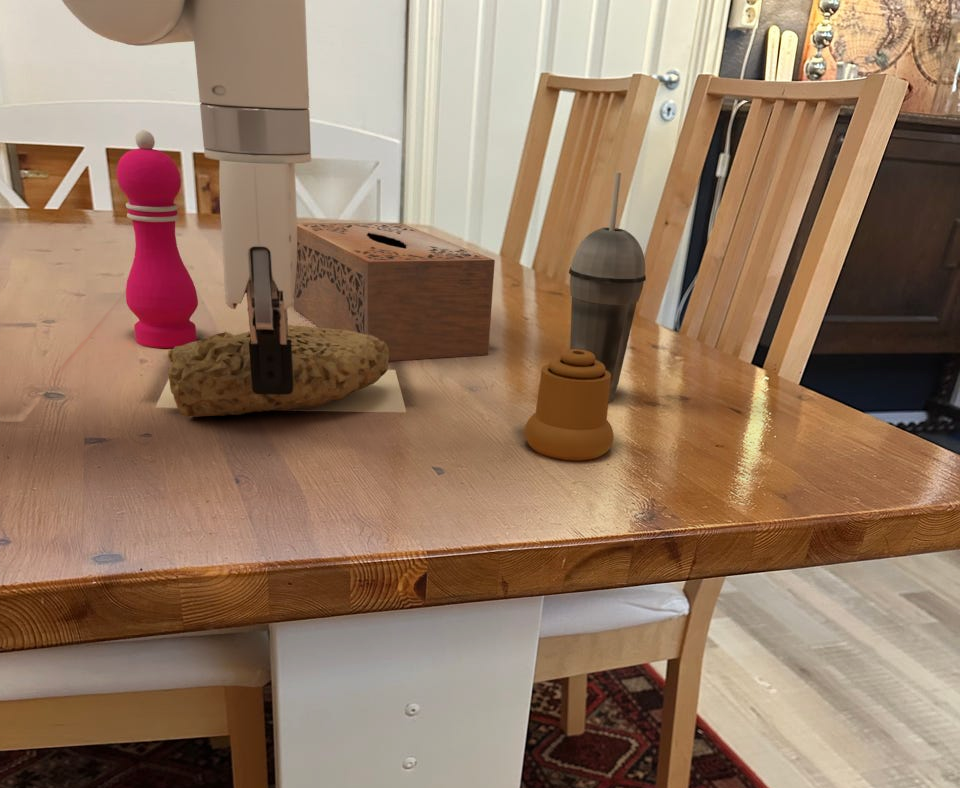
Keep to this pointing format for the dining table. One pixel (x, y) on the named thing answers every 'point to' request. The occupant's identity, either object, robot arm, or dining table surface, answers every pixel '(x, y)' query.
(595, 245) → the beverage cup
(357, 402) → the board
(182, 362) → the sponge
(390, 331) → the tissue box cover
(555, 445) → the ornamental finial
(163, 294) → the pepper mill
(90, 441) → the dining table surface
